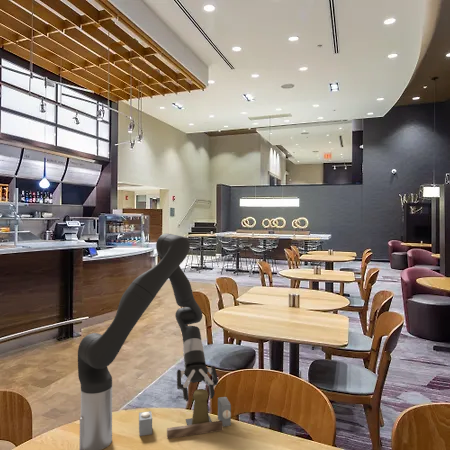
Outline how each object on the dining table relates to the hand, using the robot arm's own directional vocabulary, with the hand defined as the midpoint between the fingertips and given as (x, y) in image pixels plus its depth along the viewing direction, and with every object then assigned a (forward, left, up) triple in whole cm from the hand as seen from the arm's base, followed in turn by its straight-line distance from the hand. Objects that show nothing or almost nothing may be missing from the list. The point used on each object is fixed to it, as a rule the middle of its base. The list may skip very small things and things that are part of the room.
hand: (199, 399), depth 125 cm
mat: (0, 0, -8) cm, 8 cm away
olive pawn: (0, 0, -8) cm, 8 cm away
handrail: (-2, -5, -8) cm, 10 cm away
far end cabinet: (+9, 0, -8) cm, 12 cm away
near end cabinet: (-18, +1, -8) cm, 20 cm away
